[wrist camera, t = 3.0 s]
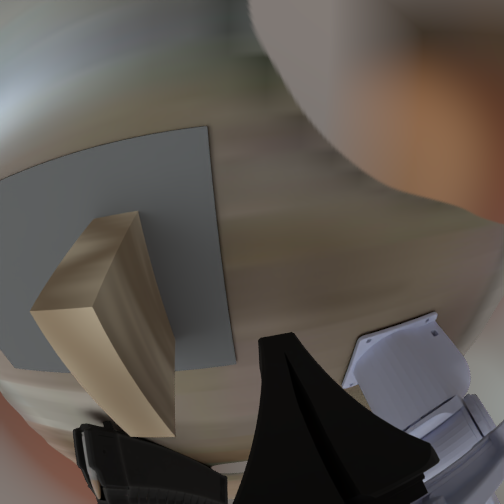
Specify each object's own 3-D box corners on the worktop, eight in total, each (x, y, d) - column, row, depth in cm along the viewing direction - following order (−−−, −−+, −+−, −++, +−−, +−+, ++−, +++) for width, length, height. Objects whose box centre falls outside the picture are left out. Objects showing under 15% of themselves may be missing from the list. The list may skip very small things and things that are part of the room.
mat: (206, 125, 11) (207, 126, 11) (235, 360, 19) (236, 364, 19) (-64, 215, 8) (-66, 216, 8) (15, 365, 17) (14, 367, 16)
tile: (138, 210, 12) (92, 306, 6) (175, 339, 17) (175, 436, 11) (93, 218, 12) (29, 311, 6) (140, 342, 16) (130, 436, 11)
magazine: (239, 511, 30) (123, 563, 8) (223, 513, 30) (100, 556, 8) (214, 433, 42) (86, 412, 19) (199, 437, 42) (69, 415, 19)
